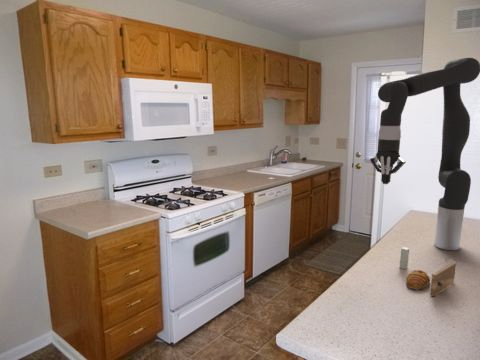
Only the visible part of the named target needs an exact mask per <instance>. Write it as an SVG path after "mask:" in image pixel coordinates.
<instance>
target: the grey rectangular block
mask: <svg viewBox="0 0 480 360" xmlns="http://www.w3.org/2000/svg"><path fill="white" fill-rule="evenodd" d="M409 255H410V248H409V247H406V246H403V247H401V249H400V260H399V262H400V263H399V269H403V270H407V269H408V267H409V264H408V263H409ZM453 262H454V263H456V264H457V261H453Z"/></svg>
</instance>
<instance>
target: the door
mask: <svg viewBox="0 0 480 360" xmlns="http://www.w3.org/2000/svg"><path fill="white" fill-rule="evenodd" d="M456 269H457V262H456V263H454V261H453V262H451V263H449V264H448V265H446V266H444V267H442V268H441V269H439V270H437V271H435V272H434V273H432V274H431V275H432V277H431V280H430V291H429V292H430V293H429V295H430V296H432V297H434V296H436V295H438V294H440V293H441V292H442V291H444V290H445V289H446V288H449V287H450V286H451V285H453V284H454V283H455V278H456V277H455V275H456Z"/></svg>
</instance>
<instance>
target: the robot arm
mask: <svg viewBox="0 0 480 360" xmlns="http://www.w3.org/2000/svg"><path fill="white" fill-rule="evenodd" d="M479 75H480V62H479V60H477V59H476V58H474V57H465V58H458V59H452V60H449V61H447V63H446V64H445V65H444V66H443V68H442V69H437V70H432V71H427V72H423V73H418V74H416V75H413V76H409V77H406V78H404V79H399V80H393V81H390V82H389V81H388V82H385V83H384V84H382V85H381V86H380V87H379V89H378V91H377V96H378V99H379V100H381V102H384V103H388V106H387V107H386V109H383V110H381V113H380V121H379V130H378V137H377V152H376V154H375V156H374V157H371V158H370V160H369V161H370V163H371V164H372V165H373V167H374V168H375V170H376V172H378V173H380V174H381V177H380V178H381V183H382V184H383V185H389V183H390V182H391V177H392V174H395V173H397V172H398V171H399V170H400V169H401V168H402V167H403V166H404V165H406V160H403V159H402V158H401V155H400V146H401V137H402V135H401V134H402V129H401V125H402V114H403V112H404V109H405V107H406V103H407V99H408V98H409V97H415V96H418V95H420V94H424V93H427V92H431V91H433V90H436V89H440V88H442V89H443V92H442V93H443V113H442V115H443V117H442V129H441V131H442V134H441V135H442V136H441V137H442V140H441V157H440V158H441V159H440V164H439V170H438V176H437V178H438V182H439V185H440V186H441V187H442V188H444V192H443V193H444V194H443V197H440V198H439V199H438V204H437V205H438V206H437V215H436V224H435V233H434V243H433V245H434V246H435V247H436V248H437V249H438V248H439V249H441V250H446V251H458V250H460V245H461V239H462V232H463V231H462V230H463V223H464V217H465V207H466V204H467V203H468V201H469V196H470V190H471V183H472V181H471V180H472V179H471V175H470V173H468V172H467V171H466V170H463V169H461V158H462V152H463V150H464V148H465V146H466V144H467V141H468V139H469V136H470V131H471V130H470V129H471V116H470V114H469V112H468V110H467V107H466V105H465V104H464V102H463V99H462V95H461V84H468V83H471V82H473V81H475V80H476V79H477V78H478V77H479ZM395 164H396V165H395ZM394 165H395V166H394Z"/></svg>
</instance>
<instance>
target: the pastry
mask: <svg viewBox="0 0 480 360" xmlns="http://www.w3.org/2000/svg"><path fill="white" fill-rule="evenodd" d="M430 283H431V279H430V277H429V275H428V273H427V272H425V271H424V270H421V269H417V270H416V269H414V270H411V271H410V273H408V274H407V276H406V286H407V287H408V288H409V289H413V290H418V291H420V290H421V289H422V290H423V289H425V288H427V286H428V285H429V284H430Z"/></svg>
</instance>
